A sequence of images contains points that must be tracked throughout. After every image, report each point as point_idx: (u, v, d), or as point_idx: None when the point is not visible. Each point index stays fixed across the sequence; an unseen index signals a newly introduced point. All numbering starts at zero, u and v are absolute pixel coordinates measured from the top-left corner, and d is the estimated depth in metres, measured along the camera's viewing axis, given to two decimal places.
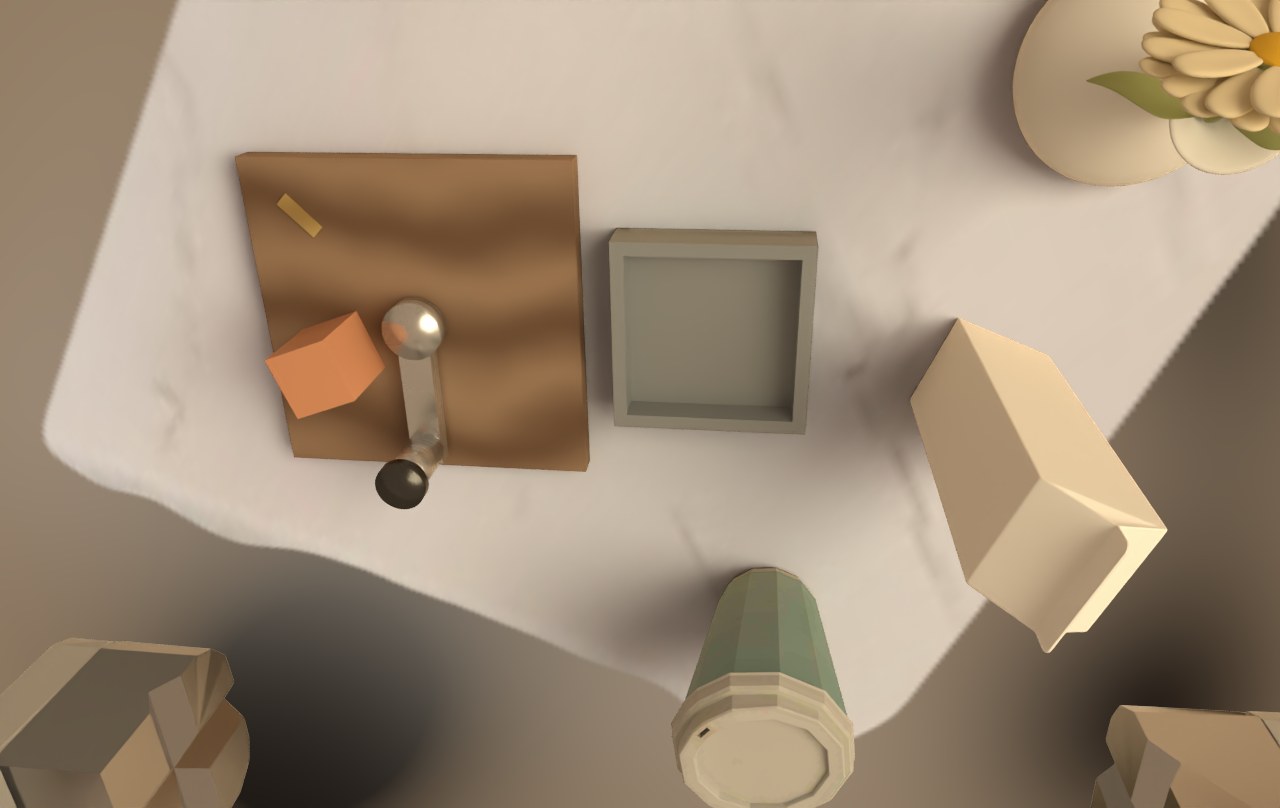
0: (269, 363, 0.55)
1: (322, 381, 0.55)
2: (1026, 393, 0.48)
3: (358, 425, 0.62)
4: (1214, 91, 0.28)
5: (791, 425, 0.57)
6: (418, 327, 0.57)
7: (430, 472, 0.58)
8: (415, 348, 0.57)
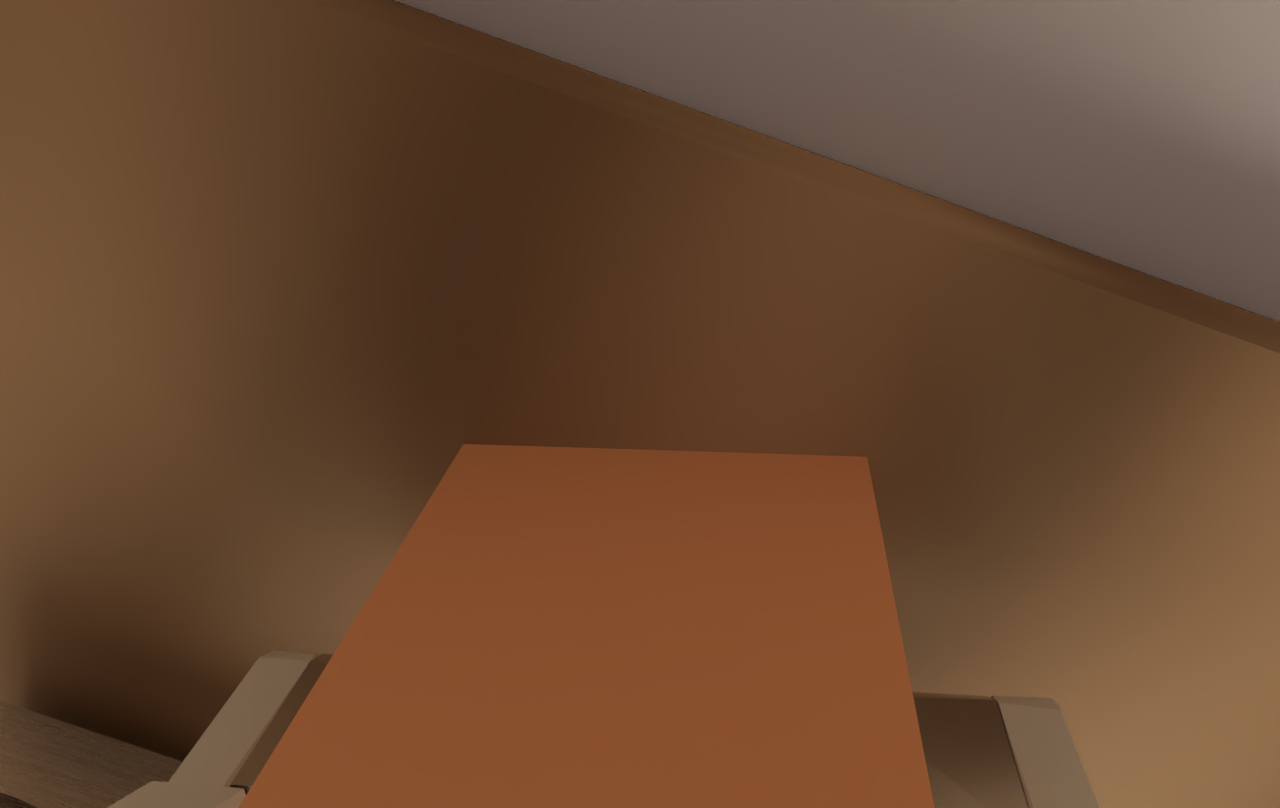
0: None
1: None
2: None
3: (177, 454, 0.10)
4: None
5: None
6: None
7: None
8: None
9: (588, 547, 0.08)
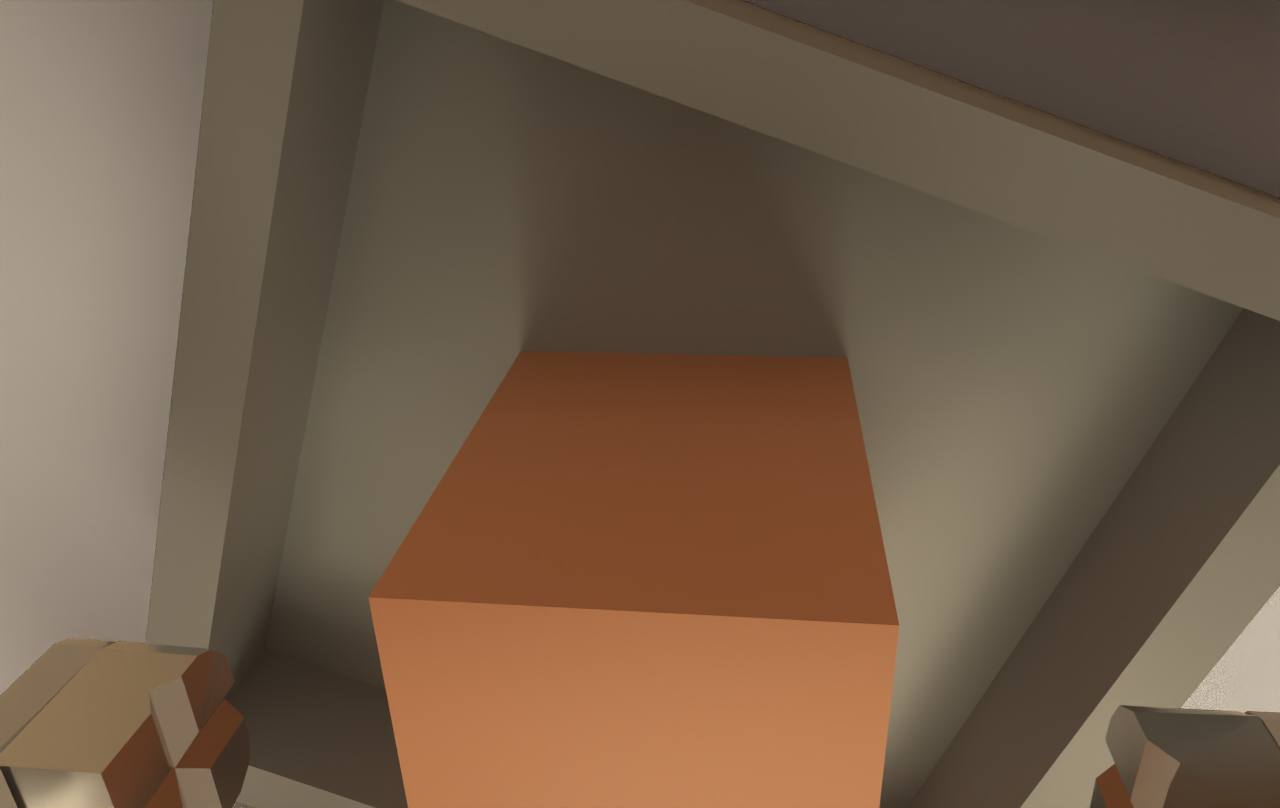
0: (860, 645, 0.07)
1: None
2: None
3: None
4: None
5: None
6: None
7: None
8: None
9: (627, 415, 0.10)
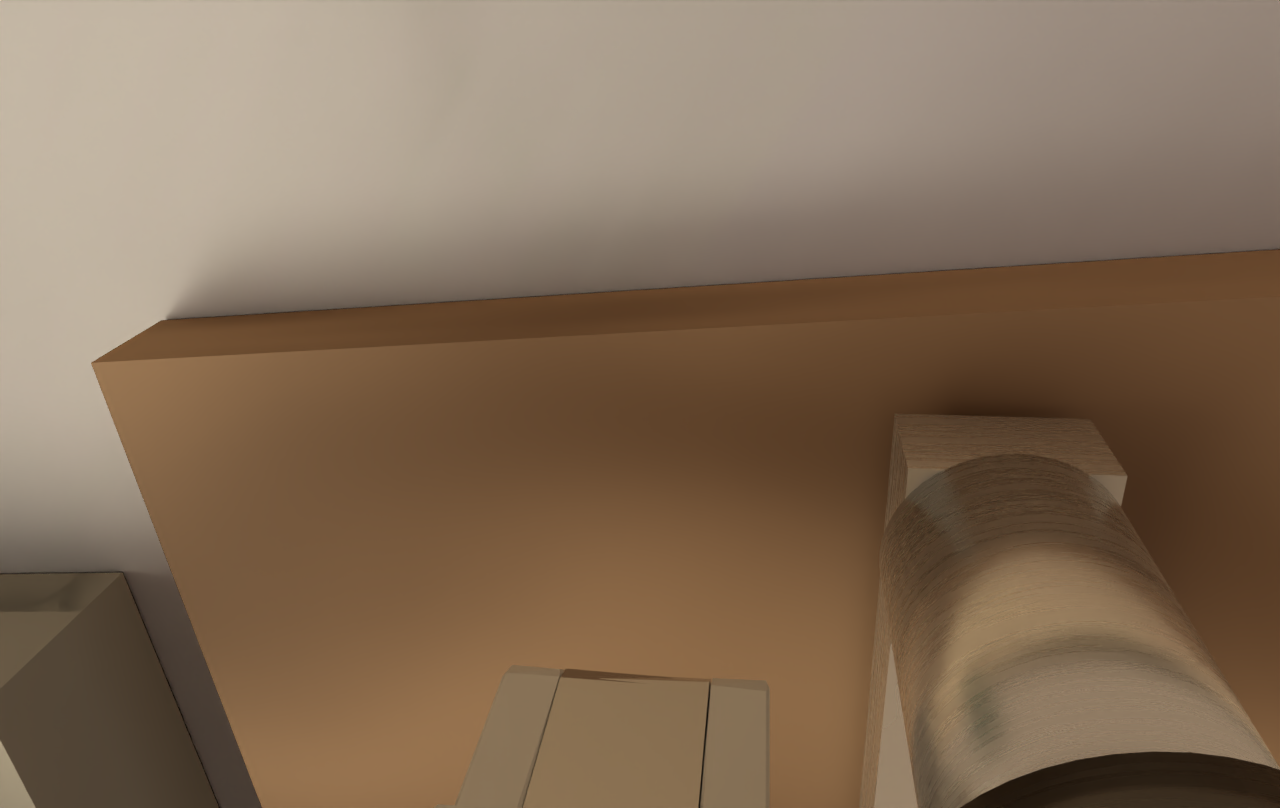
0: None
1: None
2: None
3: None
4: None
5: None
6: None
7: (915, 754, 0.07)
8: None
9: None
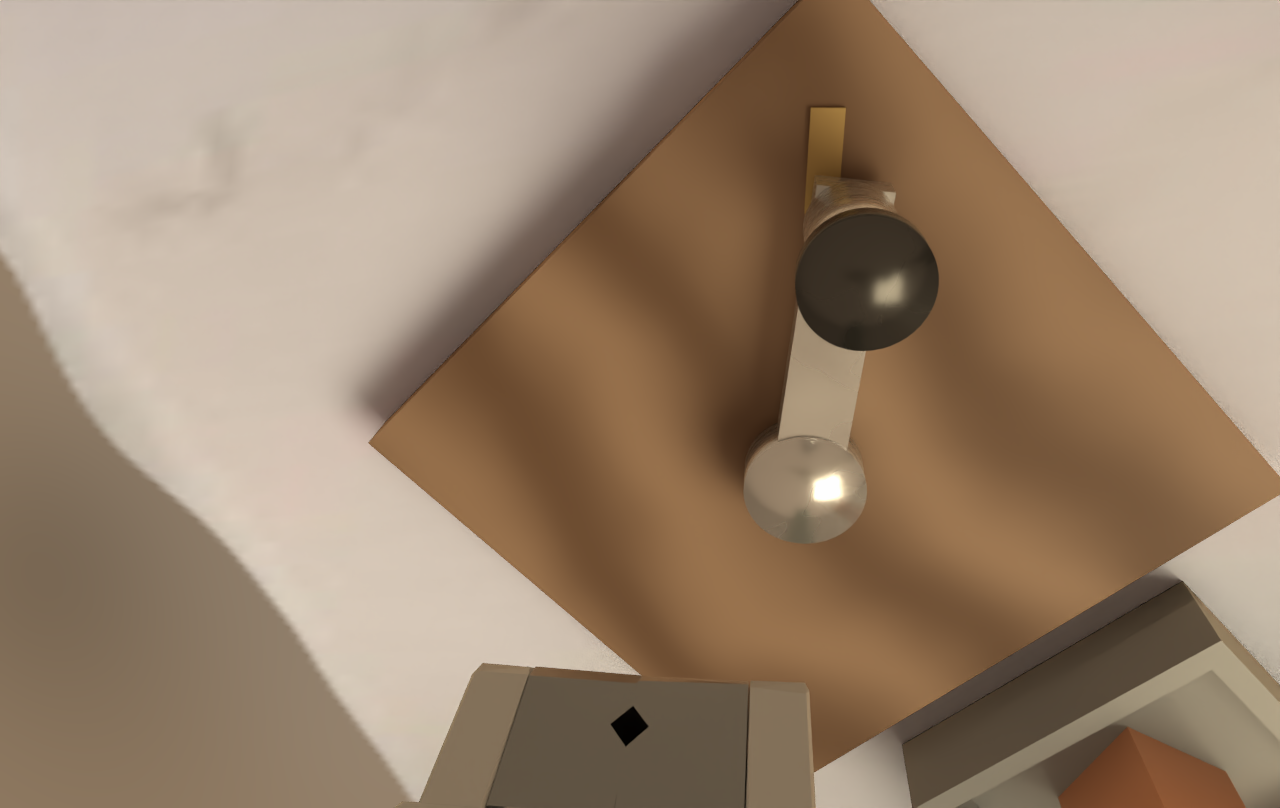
0: None
1: None
2: None
3: (529, 493, 0.31)
4: None
5: None
6: (784, 500, 0.28)
7: None
8: (804, 459, 0.28)
9: None
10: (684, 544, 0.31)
